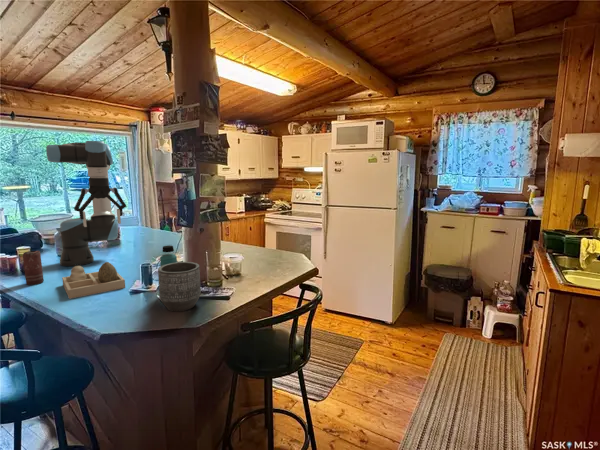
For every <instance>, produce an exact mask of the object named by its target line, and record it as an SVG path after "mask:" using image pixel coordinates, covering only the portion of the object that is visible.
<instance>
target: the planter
mask: <svg viewBox="0 0 600 450" xmlns="http://www.w3.org/2000/svg"><path fill="white" fill-rule="evenodd" d="M157 271H158V273H157V274H158V276H157V277H158V288H159V289H158V292H159V300H160V302H161V303H162V305H164V306H165V308H166V309H167V310H168V311H171V312H183V311H188V310H191V309H192V308H194V307H195V306H196V304H197V302H198V301H199V298H200V297H201V293H202V292H201V270H200V264H198V263H197V262H192V261H177V262H175V263H170V264H166V265H163V266H161V265H160V267H158V268H157Z"/></svg>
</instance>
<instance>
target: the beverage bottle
mask: <svg viewBox="0 0 600 450" xmlns="http://www.w3.org/2000/svg"><path fill="white" fill-rule="evenodd" d="M174 251H175V250H174V245H170V244H169V245H163V246H162V253H164V254H162V255H160V257H159V262H160V267H161V266H163V265H166V264H170V263H175V262H178V259H177V258H178V256H177V255H176V254H175V253H172V252H174Z"/></svg>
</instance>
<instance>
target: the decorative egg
mask: <svg viewBox="0 0 600 450" xmlns="http://www.w3.org/2000/svg"><path fill="white" fill-rule="evenodd" d="M97 272H98V279H99V281H100V282H101V283H106V282H111V281H116V279H117V273H118V271H117V269H116V267H115V266H114V265H113V264H112V263H111V262H109V261H105V262H104V263H102V265H101V266H100V268H99V269H98V271H97Z"/></svg>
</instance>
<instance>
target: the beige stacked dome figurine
mask: <svg viewBox="0 0 600 450" xmlns="http://www.w3.org/2000/svg"><path fill="white" fill-rule="evenodd" d="M69 276H70V280H71V282H74V281H80V280H86V277H87V276H86V272H85V269H84V267H83V266H82V265H78V266H72V268H71V269H70V275H69Z"/></svg>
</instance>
